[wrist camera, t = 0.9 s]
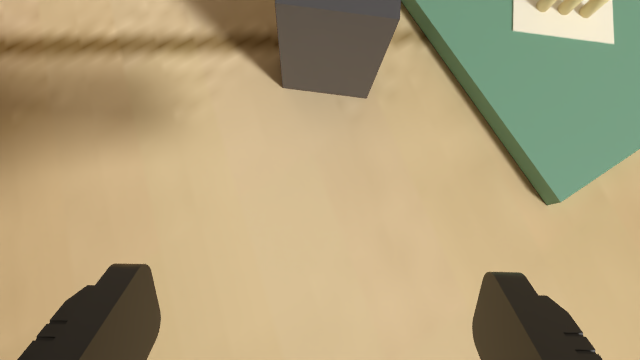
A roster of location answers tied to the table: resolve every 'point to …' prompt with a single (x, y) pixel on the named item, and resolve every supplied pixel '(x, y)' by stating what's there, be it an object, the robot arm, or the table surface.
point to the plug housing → (334, 43)
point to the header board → (546, 80)
